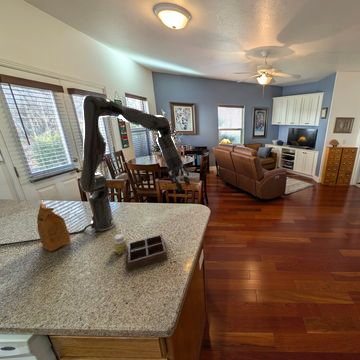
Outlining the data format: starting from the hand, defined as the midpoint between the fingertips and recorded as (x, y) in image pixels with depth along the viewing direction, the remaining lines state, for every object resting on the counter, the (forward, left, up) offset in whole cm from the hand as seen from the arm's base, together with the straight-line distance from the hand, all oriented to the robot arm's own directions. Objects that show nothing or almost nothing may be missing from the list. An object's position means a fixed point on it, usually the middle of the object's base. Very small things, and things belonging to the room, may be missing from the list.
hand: (184, 187), depth 93 cm
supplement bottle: (-32, +7, -31) cm, 45 cm away
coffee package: (-62, +29, -31) cm, 75 cm away
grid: (-21, -2, -30) cm, 37 cm away
